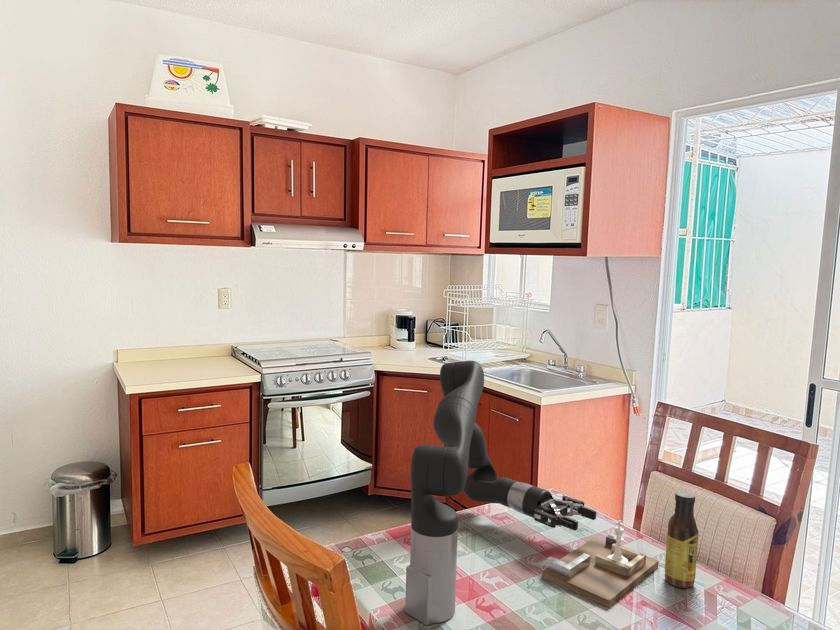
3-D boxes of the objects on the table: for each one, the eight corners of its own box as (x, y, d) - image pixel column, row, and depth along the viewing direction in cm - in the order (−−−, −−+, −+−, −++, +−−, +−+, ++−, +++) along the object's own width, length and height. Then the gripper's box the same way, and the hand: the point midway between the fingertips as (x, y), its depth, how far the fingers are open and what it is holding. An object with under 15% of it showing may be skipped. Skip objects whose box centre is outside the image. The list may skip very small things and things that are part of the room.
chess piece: (612, 555, 141) (614, 514, 140) (632, 562, 137) (635, 520, 136) (602, 562, 137) (604, 520, 136) (622, 570, 134) (625, 527, 133)
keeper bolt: (569, 578, 130) (569, 569, 129) (545, 567, 134) (546, 559, 134) (590, 564, 136) (590, 555, 136) (566, 554, 140) (567, 546, 140)
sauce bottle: (692, 593, 128) (698, 503, 126) (661, 584, 131) (667, 496, 130) (696, 579, 134) (703, 493, 132) (666, 571, 137) (672, 487, 135)
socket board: (608, 607, 122) (609, 591, 121) (541, 577, 133) (542, 562, 133) (658, 566, 139) (659, 552, 138) (594, 542, 150) (595, 529, 150)
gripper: (513, 493, 148) (571, 514, 137) (545, 479, 158) (602, 497, 147) (512, 522, 149) (570, 545, 138) (544, 506, 159) (600, 527, 148)
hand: (586, 520), depth 142 cm, fingers open, 8 cm apart
